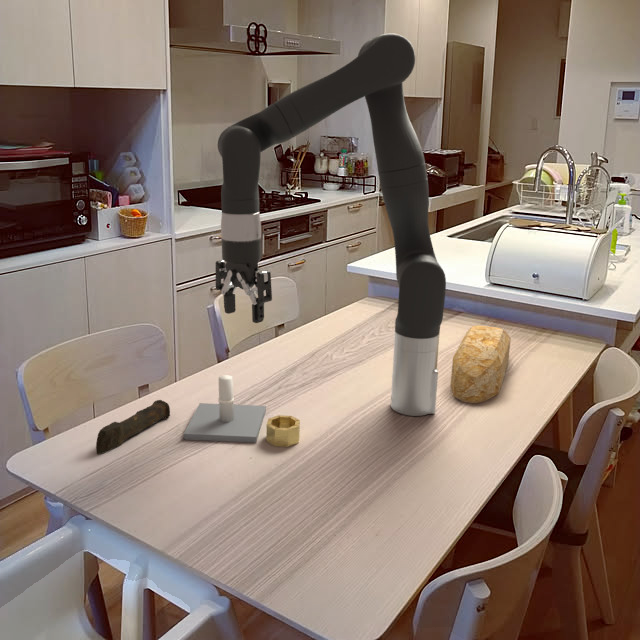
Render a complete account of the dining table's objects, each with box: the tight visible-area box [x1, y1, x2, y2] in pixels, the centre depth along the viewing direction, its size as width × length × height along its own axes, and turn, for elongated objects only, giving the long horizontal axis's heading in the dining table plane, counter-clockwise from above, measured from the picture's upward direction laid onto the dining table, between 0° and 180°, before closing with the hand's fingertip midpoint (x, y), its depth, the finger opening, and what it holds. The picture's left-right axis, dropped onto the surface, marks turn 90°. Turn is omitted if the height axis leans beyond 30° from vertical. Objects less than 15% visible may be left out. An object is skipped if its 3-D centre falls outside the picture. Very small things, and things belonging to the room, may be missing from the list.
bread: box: [450, 324, 512, 404], centre depth 170 cm, size 36×11×10 cm, turn 160°
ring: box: [266, 414, 301, 448], centre depth 137 cm, size 6×6×4 cm
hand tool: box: [95, 399, 171, 455], centre depth 138 cm, size 19×4×5 cm, turn 150°
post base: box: [183, 374, 267, 443], centre depth 141 cm, size 14×14×10 cm
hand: (243, 317), depth 139 cm, fingers open, 8 cm apart
